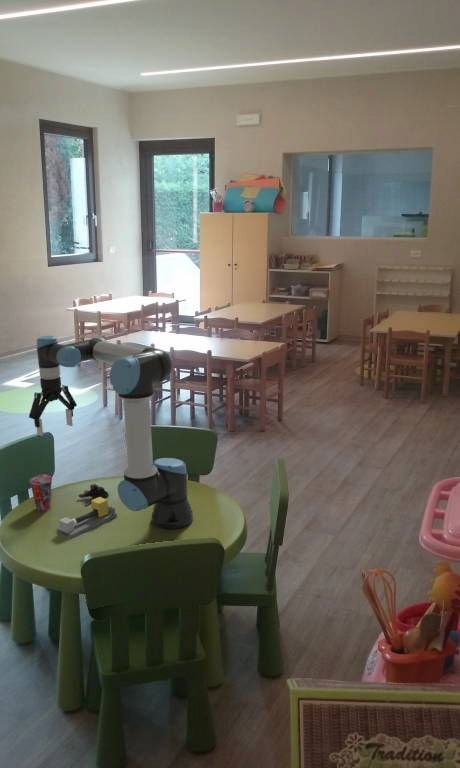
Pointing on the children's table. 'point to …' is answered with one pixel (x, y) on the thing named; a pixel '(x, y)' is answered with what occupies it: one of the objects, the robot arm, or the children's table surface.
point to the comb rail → (84, 522)
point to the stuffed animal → (94, 493)
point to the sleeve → (100, 506)
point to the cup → (42, 491)
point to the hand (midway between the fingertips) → (55, 430)
